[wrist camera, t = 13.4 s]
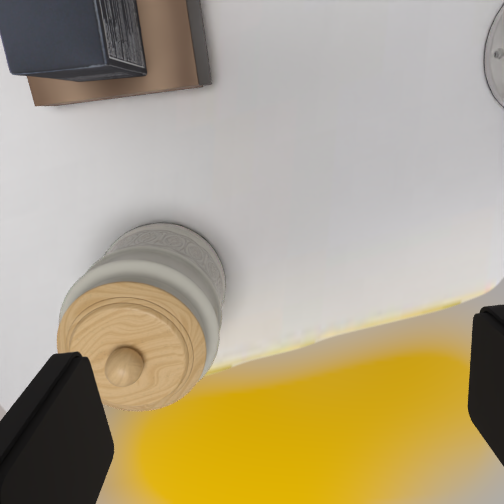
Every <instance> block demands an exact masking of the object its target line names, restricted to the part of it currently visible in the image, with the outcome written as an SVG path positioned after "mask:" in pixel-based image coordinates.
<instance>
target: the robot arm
mask: <svg viewBox="0 0 504 504" xmlns="http://www.w3.org/2000/svg"><path fill="white" fill-rule="evenodd" d="M494 53H496V56H495V57H494ZM485 72H486V77H487V80H488V84H489V87H490V89H491V91H492V93H493V95H494V96H495V98H496V99H497V100H498V101H499V103H500V104H501V105H502V106H503V107H504V5H503V7H502V8H501V10H500V11H499V13H498V14H497V16H496V18H495V20H494V23H493V25H492V27H491V29H490V32H489V36H488V40H487V43H486V50H485ZM468 412H469V415H470V418H471V420H472V422H473V424H474V425H475V426H476V428H477V429H478V430H479V432H480V434H481V435H482V436H483V438H484V439H485V440H486V442H487V443H488V445H489V446H490V447H491V449H492V450H493V452H494V453H495V455H496V456H497V458H498V459H499V460H500V462H501V463H502V465H503V466H504V305H495V306H487V307H483V308H482V309H481V310H480V313H478V314H475V315H474V317H473V330H472V345H471V361H470V378H469V394H468ZM113 454H114V443H113V440H112V436H111V432H110V429H109V425H108V422H107V419H106V415H105V412H104V408H103V405H102V401H101V398H100V394H99V391H98V387H97V384H96V380H95V377H94V373H93V370H92V366H91V363H90V360H89V358H88V357H86V356H85V357H83V356H82V355H81V353H80V352H78V351H76V352H67V353H58V354H53V355H52V356H51V357H50V358H49V360H48V361H47V362H46V364H45V365H44V366H43V367H42V369H41V370H40V371H39V372H38V374H37V375H36V376H35V378H34V379H33V380H32V381H31V383H30V384H29V385H28V387H27V388H26V389H25V390H24V392H23V393H22V394H21V395H20V397H19V398H18V399H17V401H16V402H15V403H14V404H13V406H12V407H11V408H10V410H9V411H8V412H7V413H6V415H5V416H4V417H3V419H2V420H1V421H0V504H96V501H97V498H98V496H99V493H100V490H101V488H102V485H103V483H104V480H105V477H106V475H107V472H108V469H109V467H110V464H111V462H112V459H113Z"/></svg>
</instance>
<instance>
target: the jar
mask: <svg viewBox="0 0 504 504" xmlns="http://www.w3.org/2000/svg"><path fill="white" fill-rule="evenodd" d="M225 287H226V283H225V275H224V270H223V267H222V264H221V262H220V260H219V258H218V256H217V254H216V252H215V251H214V249H213V248H212V247H211V245H210V244H209V243H208V242H207V241H206V240H205V239H204V238H202V237H201V236H200V235H198V234H197V233H195V232H193V231H192V230H190V229H187V228H185V227H182V226H179V225H175V224H168V223H155V224H149V225H145V226H141V227H138V228H135V229H133V230H131V231H129V232H127V233H125V234H124V235H122V236H121V237H120V238H119V239H118V240H116V241H115V242H114V243H113V244H112V245H111V247H110V248H109V249H108V250H107V252H106V253H105V255H104V257H102V258H101V259H99V260H98V261H97V262H95V263H94V264H93V265H92V266H91V267H90V268H89V269H88V271H87V272H86V273H85V274H84V275H83V276H82V277H81V278H80V279H78V280H77V281H76V283H75V284H74V285H73V286H72V287H71V288H70V290H69V291H68V293H67V295H66V297H65V299H64V301H63V303H62V307H61V310H60V316H59V328H58V333H57V350H58V353H67V352H76V351H78V352H80V353H81V355H82V356H83V357H85V356H86V357H88V358H89V360H90V363H91V366H92V370H93V373H94V377H95V380H96V384H97V387H98V391H99V394H100V398H101V401H102V404H104V405H107V406H110V407H113V408H116V409H121V410H127V411H149V410H154V409H159V408H162V407H165V406H168V405H170V404H172V403H174V402H176V401H178V400H180V399H181V398H182V397H184V396H185V395H186V394H187V393H189V391H190V390H191V389H192V388H193V387H194V386H195V385H196V383H197V382H198V381H199V380H200V379H201V378H202V377H203V376H204V375H205V374H206V373H207V371H208V370H209V368H210V367H211V365H212V363H213V361H214V359H215V357H216V354H217V351H218V346H219V333H220V329H221V323H222V305H223V301H224V297H225Z"/></svg>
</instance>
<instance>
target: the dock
mask: <svg viewBox="0 0 504 504" xmlns="http://www.w3.org/2000/svg"><path fill="white" fill-rule="evenodd" d="M136 1H137V8H138V15H139V21H140V27H141V34H142V41H143V47H144V54H145V61H146V68H147V75H146V76H142V77H131V78H120V79H108V80H97V81H84V82H75V81H69V80H59V79H51V78H41V77H32V76H27V78H28V82H29V86H30V89H31V93H32V97H33V100H34V104H35V106H59V105H67V104H75V103H82V102H90V101H98V100H105V99H113V98H121V97H129V96H136V95H144V94H152V93H159V92H167V91H175V90H183V89H190V88H198V87H203V85H210V84H212V82H211V75H210V68H209V61H208V54H207V46H206V39H205V32H204V25H203V18H202V11H201V4H200V0H136Z"/></svg>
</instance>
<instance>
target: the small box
mask: <svg viewBox="0 0 504 504" xmlns="http://www.w3.org/2000/svg"><path fill="white" fill-rule="evenodd" d="M0 35H1V39H2V43H3V47H4V51H5V54H6V59H7V63H8V67H9V70H10V73H11V74H13V75H21V76H32V77H41V78H51V79H59V80H69V81H75V82H84V81H97V80H108V79H120V78H131V77H142V76H146V75H147V68H146V61H145V54H144V47H143V41H142V34H141V27H140V21H139V15H138V8H137V1H136V0H0Z"/></svg>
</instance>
